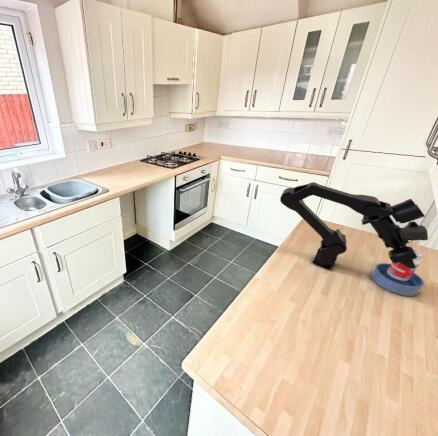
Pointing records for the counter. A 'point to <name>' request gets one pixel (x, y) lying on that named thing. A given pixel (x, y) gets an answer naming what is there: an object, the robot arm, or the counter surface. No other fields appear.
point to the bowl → (396, 281)
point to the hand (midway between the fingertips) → (411, 263)
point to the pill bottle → (403, 269)
